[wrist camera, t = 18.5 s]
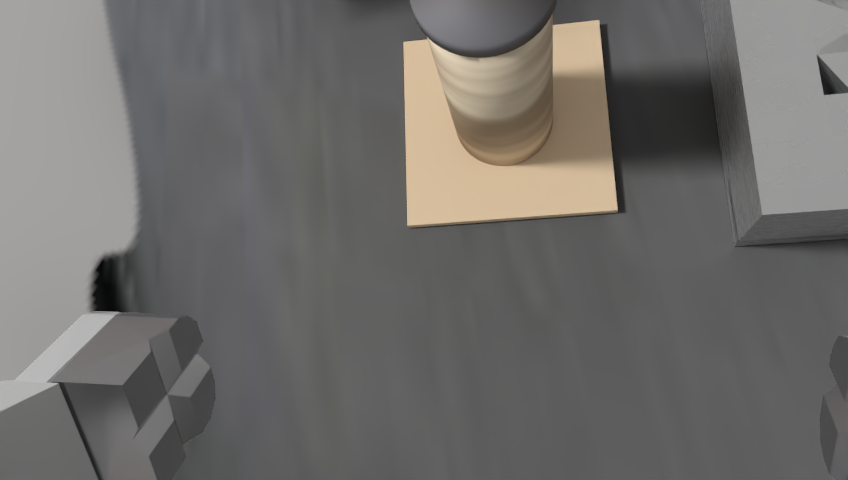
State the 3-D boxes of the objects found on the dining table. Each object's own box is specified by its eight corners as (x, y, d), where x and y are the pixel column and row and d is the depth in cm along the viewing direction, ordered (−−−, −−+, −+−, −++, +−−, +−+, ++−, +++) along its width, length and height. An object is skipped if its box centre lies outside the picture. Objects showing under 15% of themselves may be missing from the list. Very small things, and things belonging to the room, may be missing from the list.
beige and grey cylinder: (560, 165, 36) (564, 37, 25) (453, 173, 37) (408, 53, 26) (553, 67, 38) (553, -97, 26) (449, 77, 38) (406, -78, 27)
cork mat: (616, 212, 36) (617, 210, 35) (409, 228, 37) (407, 225, 37) (598, 24, 38) (598, 20, 38) (405, 45, 40) (403, 42, 39)
